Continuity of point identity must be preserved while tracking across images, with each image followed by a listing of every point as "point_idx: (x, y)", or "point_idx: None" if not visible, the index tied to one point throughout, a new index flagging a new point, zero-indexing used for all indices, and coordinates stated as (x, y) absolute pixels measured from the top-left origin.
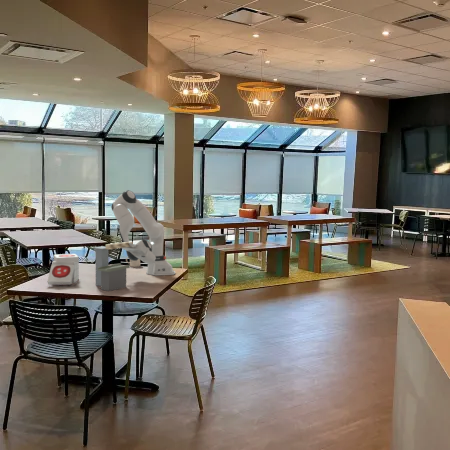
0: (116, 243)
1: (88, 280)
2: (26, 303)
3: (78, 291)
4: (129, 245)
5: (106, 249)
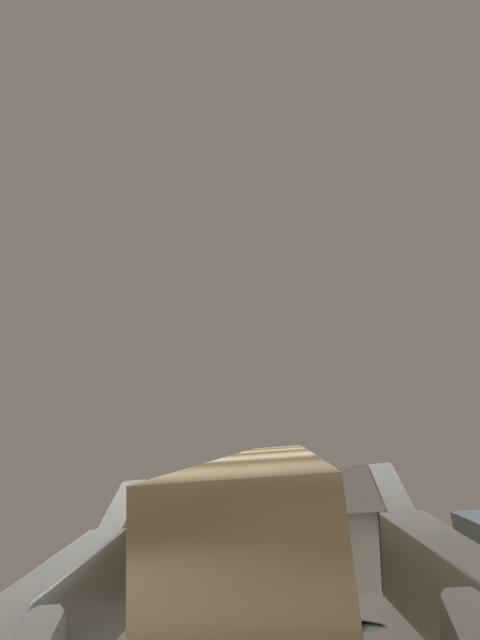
0: (277, 450)
1: None
2: None
3: None
4: None
5: None
